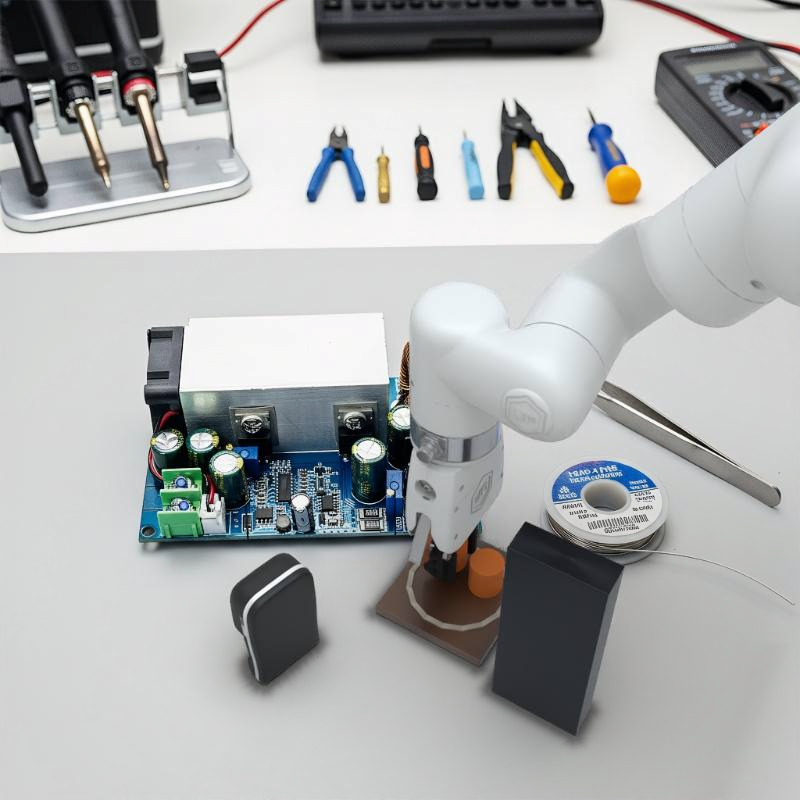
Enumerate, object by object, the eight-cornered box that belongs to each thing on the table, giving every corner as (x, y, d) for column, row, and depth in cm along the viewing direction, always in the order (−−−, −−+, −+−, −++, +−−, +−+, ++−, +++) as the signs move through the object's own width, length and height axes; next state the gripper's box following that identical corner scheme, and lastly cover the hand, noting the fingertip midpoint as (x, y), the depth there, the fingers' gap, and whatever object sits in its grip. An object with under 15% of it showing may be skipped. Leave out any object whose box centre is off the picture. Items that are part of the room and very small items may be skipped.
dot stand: (590, 708, 85) (625, 565, 71) (575, 736, 83) (608, 595, 69) (507, 665, 88) (525, 520, 74) (491, 691, 86) (506, 547, 72)
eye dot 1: (472, 555, 94) (474, 531, 92) (456, 578, 92) (457, 555, 90) (443, 541, 95) (444, 518, 93) (426, 564, 94) (426, 541, 91)
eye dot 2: (508, 580, 93) (510, 557, 91) (492, 604, 92) (494, 581, 89) (478, 565, 95) (480, 542, 92) (461, 589, 93) (463, 566, 90)
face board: (539, 573, 95) (540, 566, 94) (479, 667, 88) (479, 660, 87) (440, 527, 99) (440, 519, 99) (375, 612, 92) (374, 605, 91)
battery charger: (296, 615, 92) (285, 538, 84) (323, 641, 90) (315, 563, 82) (236, 662, 88) (219, 585, 81) (262, 689, 86) (248, 613, 79)
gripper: (444, 505, 75) (440, 642, 87) (541, 380, 85) (524, 519, 97) (362, 467, 78) (369, 604, 90) (464, 351, 88) (458, 489, 100)
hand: (450, 559), depth 94 cm, fingers closed on eye dot 1, 3 cm apart
